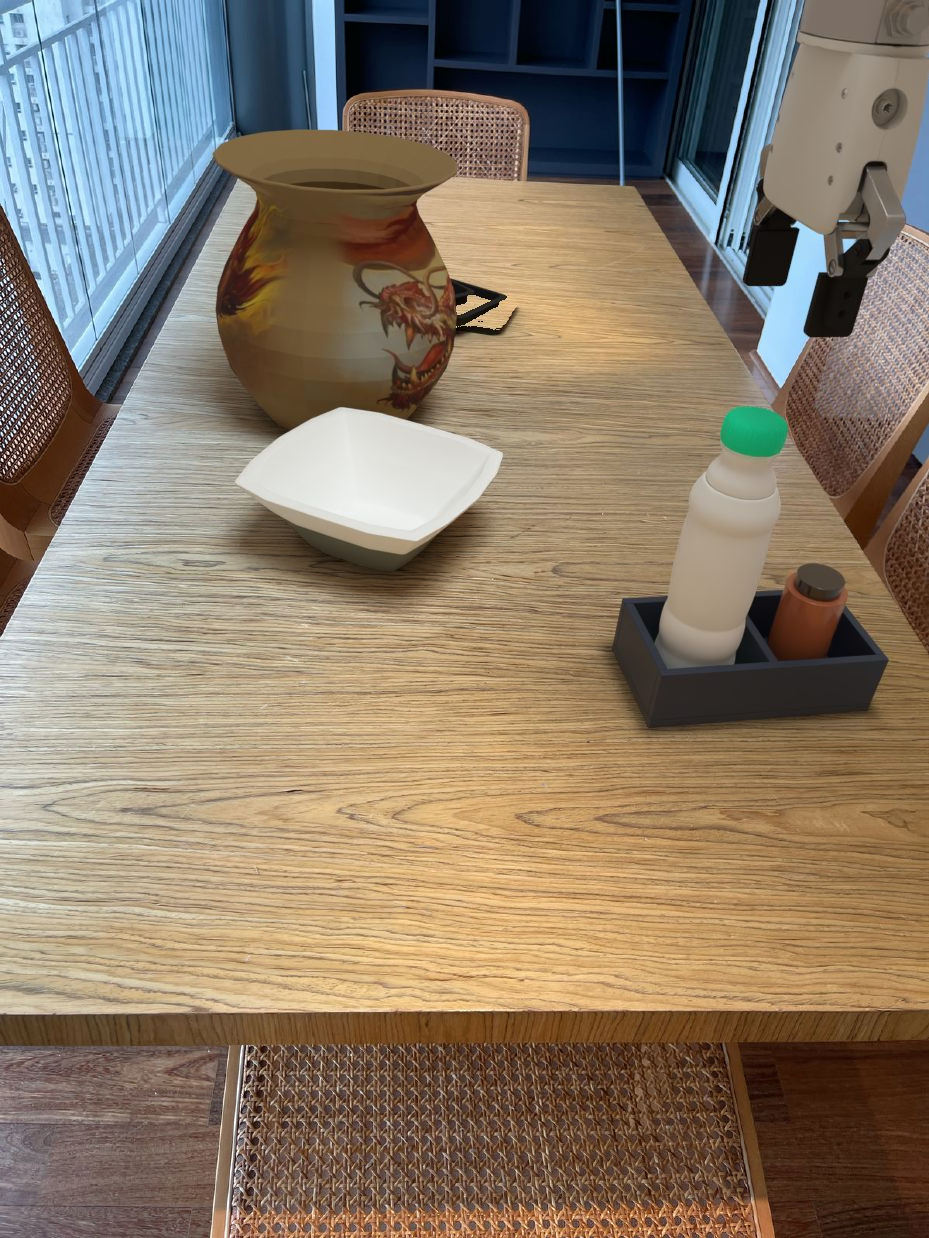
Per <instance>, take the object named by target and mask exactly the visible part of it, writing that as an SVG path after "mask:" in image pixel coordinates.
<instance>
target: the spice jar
mask: <svg viewBox="0 0 929 1238" xmlns="http://www.w3.org/2000/svg"><path fill="white" fill-rule="evenodd" d="M845 585H846V578H845V577H844V576H843V574H842V573H840V571H838V570H837V569H835V568H833V567H831V566H829V565H826V564H821V563H816V562H814V563H811V562H809V563H805V564H801V565H800V566H798V567H797V570H796V572H793V573H791V574H790V575H788V576H787V578H786V580H785V583H784V586H783V589H782V590H783V592H782V595H781V598H780V601H779V604H778V607H777V611H776V614H775V617H774V620H773V623H772V626H771V629H770V632H769V635H768V638H767V641H766V643H767V645H768V646H769V648H770V649H771V651H772V652H773V654H774V655H775V657H776V658H777V660H778V661H791V660H806V659H820V658H826V655H827V652H828V650H829V647H830V644H831V642H832V639H833V636H834V634H835V631H836V628H837V626H838V623H839V620H840V618H841V615H842V612H843V610H844V607H845V605H847V602H848V599H849V592H848V590H847V588H846V586H845Z"/></svg>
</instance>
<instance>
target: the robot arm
mask: <svg viewBox="0 0 929 1238" xmlns="http://www.w3.org/2000/svg"><path fill="white" fill-rule="evenodd" d="M796 42H797V43H799V47H798V50H797V53H796V55H795V59H794V61H793V64H792V67H791V70H790V73H789V77H788V79H787V83H786V87H785V89H784V93H783V97H782V100H781V104H780V108H779V111H778V114H777V118H776V122H775V126H774V129H773V134H772V139H771V142H770V143H768V144H767V145H765V146H764V147H762V148H761V151H760V157H759V181H758V183H757V186H755V192H756V195H757V202H758V203H757V204H758V205H757V207H755V209H754V212H753V215H752V217H753V219H752V221H753V224H754V227H753V231H752V235H751V238H750V239H751V240H750V243H749V249H748V253H747V258H746V262H745V266H744V270H743V276H742V282H743V284H744V285H746V286H747V287H784V286H785V285H786V283H787V282H788V278H789V273H790V271H791V266H792V262H793V259H794V253H795V250H796V247H797V243H798V238H799V234H800V230H801V229H800V228H799V227H797V226H795V224H796V223H797V222H798V223H800V224H802V225H803V226H805V227H806V228H807V229H810V230H811V231H813V232H815V233H817V234H819V235H822V236H823V246H824V257H825V258H824V259H825V268H826V271H819V272H817V276H816V281H815V284H814V288H813V292H812V294H811V295H812V296H811V300H810V302H809V303H810V304H809V306H808V310H807V314H806V317H805V322H804V325H803V330H802V331H803V333H804V335H805V336H807V337H808V338H847V337H850V336H851V335H852V334H853V331H854V328H855V324H856V322H857V318H858V315H859V311H860V309H861V306H862V302H863V298H864V295H865V292H866V291H865V290H866V288H867V284H868V281H869V278H874V277H875V275H876V274H877V271H878V266H880V264H882V263H883V262H884V261H885V260H887V258H888V256H889V255H890V251H891V247H892V246H893V244H895V241H896V240H897V239H898V237H899V235H900V234H901V232H902V231H903V230H904V229H905V227H906V222H907V216H906V212H905V211H904V208H903V206H902V202H903V198H904V194H905V190H906V188H907V187H906V186H907V184H908V181H909V175H910V172H911V168H912V163H913V160H914V155H915V151H916V147H917V142H918V138H919V135H920V129H921V125H922V120H923V114H924V108H925V103H926V97H927V90H928V83H929V57H928V55H929V0H805V1H804V4H803V9H802V14H801V18H800V23H799V27H798V32H797V36H796ZM844 240H855V242H854V243H853V244H852V245H851V246H850V247H849V248H848V249H846V250H845V249H844Z"/></svg>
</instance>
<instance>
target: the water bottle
mask: <svg viewBox="0 0 929 1238" xmlns="http://www.w3.org/2000/svg"><path fill="white" fill-rule="evenodd" d="M788 432H789V426H788V423H787V421H786V420H785V418H784V417H783V416H782V415H780V414H779V413H777V412H776V411H773V410H771V409H768V408H766V407H765V408H764V407H762V406H760V407H759V406H753V405H745V406H744V405H742V406H736V407H734V408H732V409H730V410H729V411H728V412H727V413H726V415H724V418H723V420H722V424H721V429H720V433H719V437H720V440H719V446H720V447H721V449H722V450H721V453H720V454H719V455H718V456H717V457H715V458H714V459H713V460H712V461H711V462H710V464H709V465H708V467H707V469H706V470H705V471H704V472H703V473H702V474H701V475H700V476H699V477H698V478H697V479H696V481H695V482H694V483H693V485H692V487H691V489H690V491H689V495H688V502H687V504H688V505H687V506H688V510H687V514H686V516H685V519H684V522H683V525H682V528H681V531H680V534H679V539H678V542H677V546H676V551H675V555H674V560H673V564H672V568H671V573H670V579H669V586H668V591H667V592H668V593H667V596H668V599H667V600H666V602H665V605H664V607H663V610H662V614H661V618H660V625H659V633H658V635H657V638H656V640H655V643H654V644H655V646H656V648H657V650H658V651H659V653H660V655H661V657H662V659H663V661H664V663H665V665H666V667H667V669H674V668H689V667H703V666H718V665H733V664H734V662H735V656H736V651H737V649H738V647H739V645H740V642H741V640H742V637H743V633H744V629H745V618H746V616H747V613H748V611H749V609H750V606H751V604H752V601H753V599H754V596H755V593H756V591H758V587H759V584H760V581H761V578H762V574H763V570H764V567H765V563H766V561H767V556H768V553H769V548H770V545H771V540H772V534H773V529H774V528H775V526H776V524H777V523H778V520H779V519H780V516H781V511H782V501H781V498H780V492H779V488H778V485H777V483H778V480H777V475H776V472H775V470H774V467H773V462H774V460H776V459H777V458H778V457H779V456H780V454H781V451H782V449H783V448H784V446H785V443H786V440H787V437H788Z"/></svg>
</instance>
